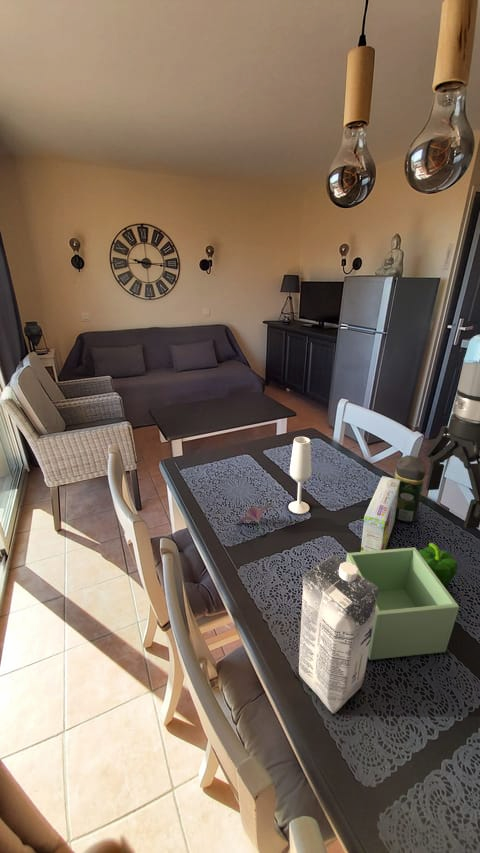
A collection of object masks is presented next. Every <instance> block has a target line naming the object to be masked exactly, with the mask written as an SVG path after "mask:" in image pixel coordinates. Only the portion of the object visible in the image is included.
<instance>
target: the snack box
mask: <svg viewBox="0 0 480 853" xmlns="http://www.w3.org/2000/svg"><path fill="white" fill-rule="evenodd" d="M399 486H400V480H398V479H395V478H393V477H389V476H384V475H382V476H381V478H380V480H379V482H378V485H377V487H376V489H375V491H374V494H373V496H372V498H371V500H370V503H369V505H368V507H367V509H366V510H365V514H364V516H363V517H364V518H363V526H362V537H361V545H360V552H366V551H378V550H387V546H388V543H389V540H390V537H391V534H392V531H393V529H394V528H393V527H394V526H395V520H396V518H395V514H396V507H397V499H398V493H399Z"/></svg>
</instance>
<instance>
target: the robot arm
mask: <svg viewBox="0 0 480 853" xmlns="http://www.w3.org/2000/svg"><path fill="white" fill-rule="evenodd" d="M453 456H454V457H455V458H458V460H459V461H460V462H461V463H462V464H463V467H464V468H465V469H466V470H467V473H468V478H469V482H470V485H471V486H470V487H471V490H472V494H473V498H472V499H470V502H469V504H468V505H469V506H468V509H467V512H466V515H465V519H464V523H463V528H464V529H465V530H469V529H479V528H480V334H476V335H474V336H472V337H471V338H470V340H469V342H468V345H467V348H466V353H465V356H464V357H463V362H462V367H461V371H460V376H459V381H458V385H457V390H456V395H455V398H454V403H453V407H452V414H451V415H450V419H449V423H448V425H444V426H441V427H440V429H439V433H438V435H437V436H436V437H435V439H434V440H433V442H432V444H431V445H430V446H429V448H428V449H427V450H426V452H425V457H426V458H428V459H429V463H430V465H429V469H428V477H427V481H426V485H425V489H426V490H427V491H437V490H440V486H441V483H442V482H441V481H442V478H443V473H444V470H445V464H444V463H445V462H446V461H447V460H448V459H450V458H452V457H453ZM475 462H476V463H475Z"/></svg>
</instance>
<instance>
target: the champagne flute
mask: <svg viewBox="0 0 480 853" xmlns="http://www.w3.org/2000/svg"><path fill="white" fill-rule="evenodd" d="M311 450H312V449H311V439H310V438H309V437H306V436H296V437H294V439H293V444H292V450H291V451H292V452H291V458H290V465H289V475H290V477H291V478H292V479H293V480H294V481H296V482H297V500H295V501H291V502H290V503H289V504H288V509H289V511H290V512H292V513H294V514H297V515H298V514H299V515H302V514H305V513H308V512H309V511H310V506H309V504H308V503H306V502H304V501H302V489H303V483H304V482H306V481H307V480H309V479H310V478H311V476H312V474H313V473H312V472H313V471H312V453H311V452H312V451H311Z"/></svg>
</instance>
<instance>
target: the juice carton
mask: <svg viewBox="0 0 480 853" xmlns="http://www.w3.org/2000/svg"><path fill="white" fill-rule="evenodd" d="M357 573H358V569H357V567H356V566H355V565H353V564H352V563H350V562H349V563H348V562H346V561H343V560H342V559H341V558H339V557H338V556H337V555H335V554H332V555H330V556H328V557H327V558H326V559H325V560H323V561H322V562H321V563H319V564H318V565H316V566H315V567H313V568H311V569H310V570H308V571H306V572H304V573H302V601H301V613H300V614H301V615H300V633H299V634H300V636H299V649H298V650H299V652H298V675H299V676H300V678H301V679H302V680H303V681H304V682H305V684H306V685H307V686H308V687H309V688H310V689H311V690H312V691H313V692H314V693H315V694H316V696H317V697H318V699H320V701H321V702H322V703H323V704H324V706H325V707H326V708H327V709H328V710H329V711H330V713H331V714H332V715H333V714H336V713H337V712H338V711H340V709H341V708H342V707H343V706H344V705H345V704H346V703H347V702H348V700H349V699H351V698H352V697H353V696H354V695H355V694H356V693H357V692H358V691H359V690H360V689H361V688H362V686H363V685H364V684H363V683H364V680H365V675H366V674H365V673H366V667H367V662H368V651H369V646H370V640H371V634H372V628H373V622H374V616H375V609H376V601H377V596H378V587H377V586H376V585H375V584H373V583H372V582H370V581H368V580H367V579H365V578H363V577H362V576H360V575H358V574H357Z"/></svg>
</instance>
